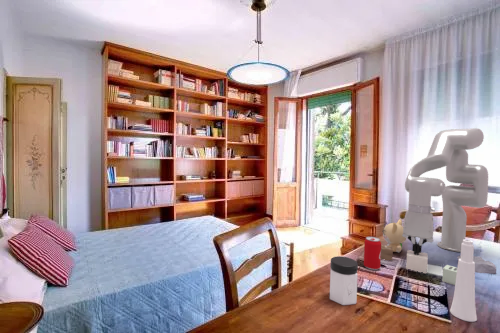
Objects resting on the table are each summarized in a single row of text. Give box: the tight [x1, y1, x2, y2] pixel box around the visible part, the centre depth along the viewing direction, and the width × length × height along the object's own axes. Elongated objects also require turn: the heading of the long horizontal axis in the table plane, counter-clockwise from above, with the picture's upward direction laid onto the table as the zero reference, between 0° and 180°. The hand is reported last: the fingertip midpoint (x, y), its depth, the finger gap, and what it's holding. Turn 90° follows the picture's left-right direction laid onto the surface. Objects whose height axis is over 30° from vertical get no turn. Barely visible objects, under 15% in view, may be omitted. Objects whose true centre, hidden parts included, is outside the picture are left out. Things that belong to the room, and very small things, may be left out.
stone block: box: [456, 255, 497, 275], centre depth 110 cm, size 12×5×10 cm
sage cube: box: [442, 264, 458, 286], centre depth 96 cm, size 5×5×5 cm
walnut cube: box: [381, 244, 394, 261], centre depth 118 cm, size 5×5×5 cm
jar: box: [329, 255, 359, 306], centre depth 84 cm, size 9×8×12 cm
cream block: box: [405, 249, 429, 274], centre depth 108 cm, size 7×7×6 cm
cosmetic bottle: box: [449, 239, 478, 323], centre depth 76 cm, size 6×6×22 cm
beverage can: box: [363, 236, 382, 271], centre depth 107 cm, size 6×6×12 cm
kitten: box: [382, 218, 407, 253], centre depth 127 cm, size 15×10×15 cm
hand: (416, 253), depth 108 cm, fingers closed
